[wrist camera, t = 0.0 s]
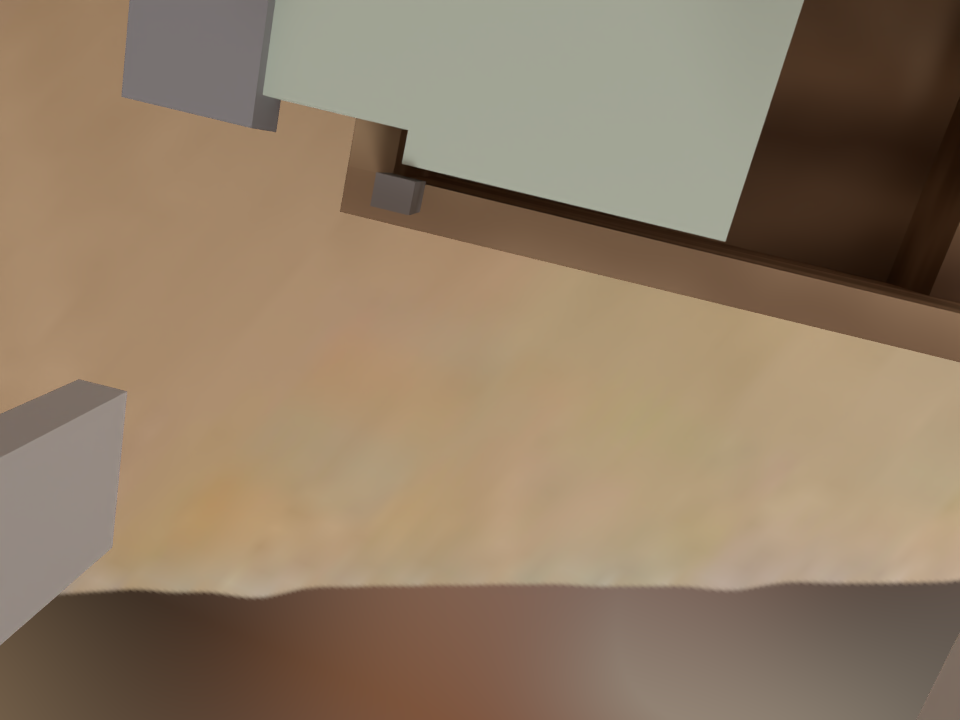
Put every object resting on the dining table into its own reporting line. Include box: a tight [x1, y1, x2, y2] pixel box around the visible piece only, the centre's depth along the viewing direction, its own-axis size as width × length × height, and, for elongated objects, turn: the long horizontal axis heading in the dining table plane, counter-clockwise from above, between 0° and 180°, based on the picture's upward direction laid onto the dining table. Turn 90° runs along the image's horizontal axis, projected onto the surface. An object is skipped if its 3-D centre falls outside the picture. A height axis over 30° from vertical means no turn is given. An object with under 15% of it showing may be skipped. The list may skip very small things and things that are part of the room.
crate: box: [340, 0, 960, 362], centre depth 27 cm, size 16×26×16 cm, turn 77°
